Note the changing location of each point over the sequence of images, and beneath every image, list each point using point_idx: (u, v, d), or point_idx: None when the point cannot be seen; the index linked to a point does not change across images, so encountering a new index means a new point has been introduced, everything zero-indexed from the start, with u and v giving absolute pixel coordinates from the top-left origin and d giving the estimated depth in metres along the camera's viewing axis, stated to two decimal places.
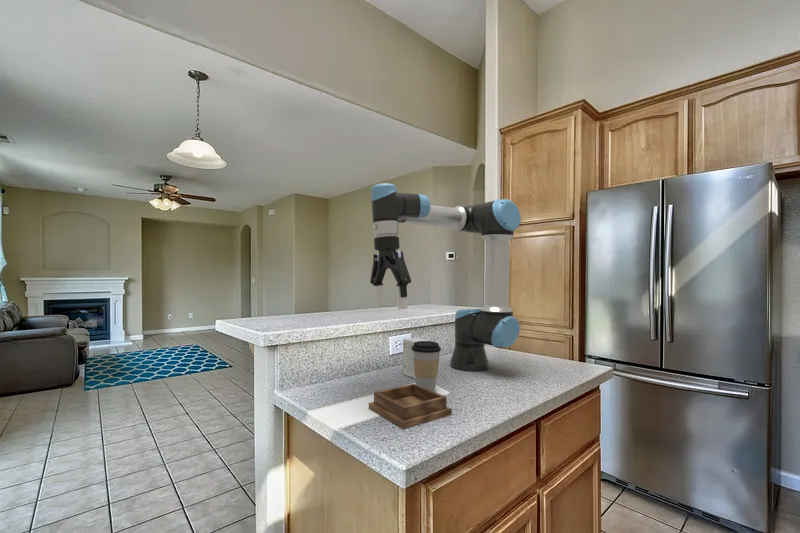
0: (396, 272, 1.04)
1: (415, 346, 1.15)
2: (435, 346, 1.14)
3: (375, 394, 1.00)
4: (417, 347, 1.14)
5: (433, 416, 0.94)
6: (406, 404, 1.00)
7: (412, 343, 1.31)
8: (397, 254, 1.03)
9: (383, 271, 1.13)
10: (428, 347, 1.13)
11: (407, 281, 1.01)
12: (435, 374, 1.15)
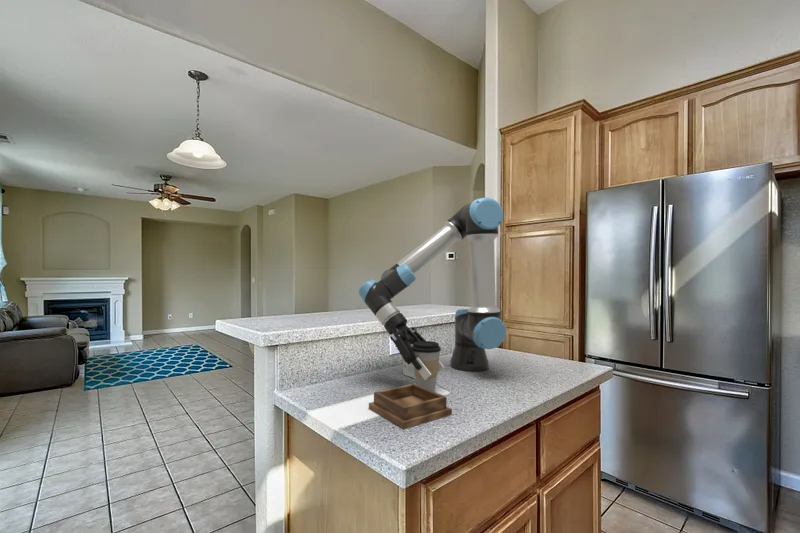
0: None
1: (415, 346, 1.15)
2: (435, 346, 1.14)
3: (375, 394, 1.00)
4: (417, 347, 1.14)
5: (433, 416, 0.94)
6: (406, 404, 1.00)
7: None
8: (392, 338, 1.15)
9: None
10: (428, 347, 1.13)
11: (407, 359, 1.11)
12: (435, 374, 1.15)
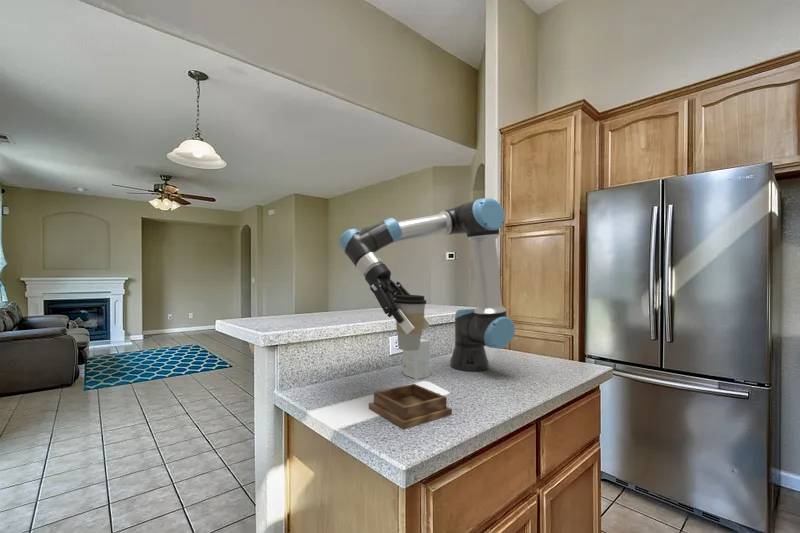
0: None
1: (397, 298, 1.03)
2: (419, 298, 1.01)
3: (375, 394, 1.00)
4: (399, 298, 1.02)
5: (433, 416, 0.94)
6: (406, 404, 1.00)
7: None
8: (372, 289, 1.03)
9: None
10: (411, 298, 1.00)
11: (387, 309, 0.98)
12: (419, 329, 1.02)
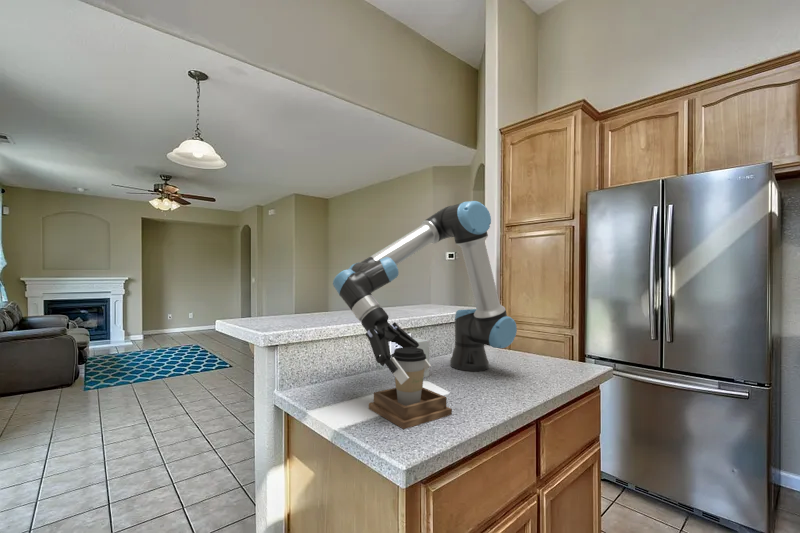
0: None
1: (395, 354, 0.97)
2: (419, 354, 0.96)
3: (375, 394, 1.00)
4: (398, 355, 0.96)
5: (433, 416, 0.94)
6: None
7: None
8: (367, 335, 0.98)
9: (399, 339, 1.05)
10: (410, 355, 0.95)
11: (380, 359, 0.92)
12: (419, 387, 0.97)
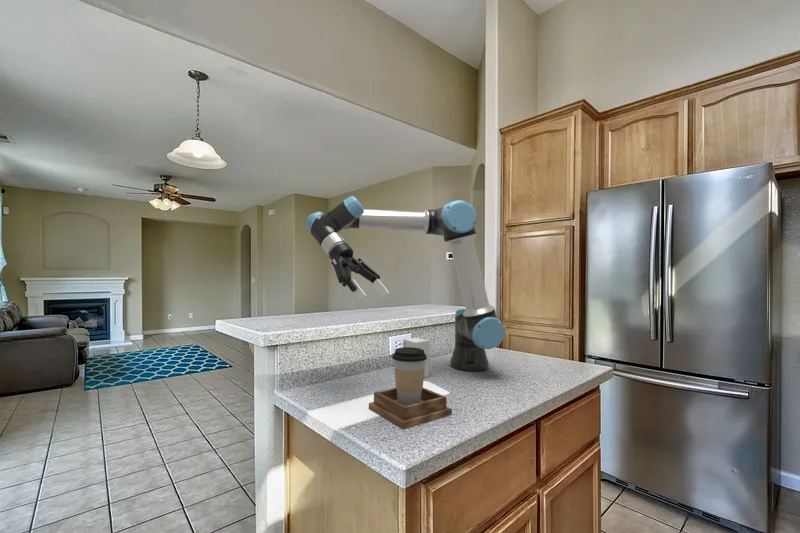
0: None
1: (396, 354, 0.97)
2: (420, 354, 0.96)
3: (375, 394, 1.00)
4: (398, 355, 0.96)
5: (433, 416, 0.94)
6: None
7: (412, 343, 1.31)
8: (332, 263, 1.14)
9: (363, 271, 1.21)
10: (411, 355, 0.95)
11: (341, 279, 1.08)
12: (420, 387, 0.97)
